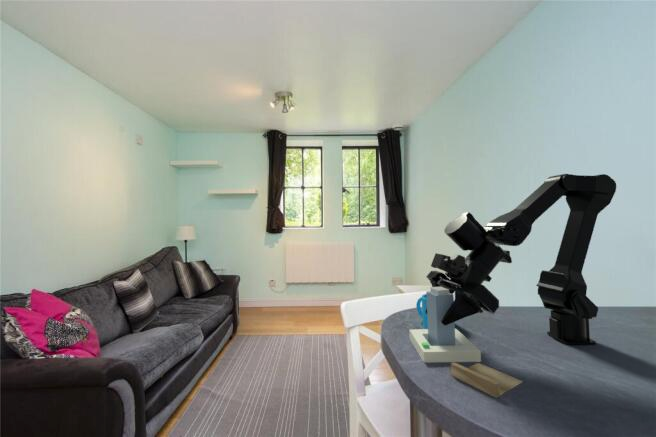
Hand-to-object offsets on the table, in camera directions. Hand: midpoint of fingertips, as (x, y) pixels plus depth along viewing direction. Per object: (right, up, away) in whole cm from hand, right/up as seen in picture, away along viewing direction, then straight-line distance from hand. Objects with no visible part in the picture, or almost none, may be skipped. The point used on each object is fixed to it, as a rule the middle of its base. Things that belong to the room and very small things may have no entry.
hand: (434, 318), depth 62 cm
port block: (+2, -8, 0) cm, 8 cm away
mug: (+6, -8, +17) cm, 20 cm away
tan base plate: (+5, -7, -12) cm, 15 cm away
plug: (+2, -8, 0) cm, 8 cm away
